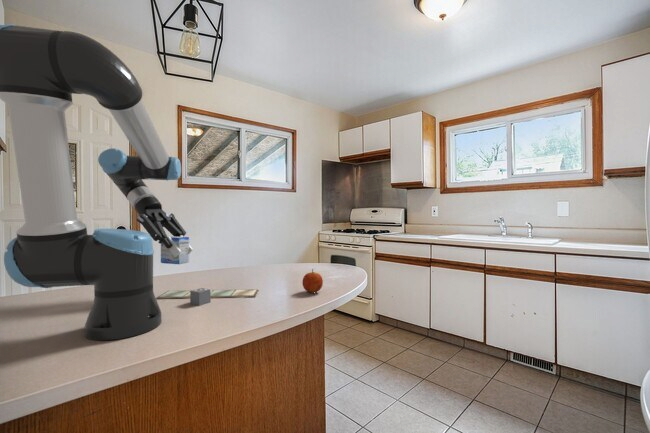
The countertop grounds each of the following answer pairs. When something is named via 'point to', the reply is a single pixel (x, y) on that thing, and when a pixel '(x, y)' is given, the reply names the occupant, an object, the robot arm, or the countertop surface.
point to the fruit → (312, 282)
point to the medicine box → (182, 257)
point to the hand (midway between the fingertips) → (184, 253)
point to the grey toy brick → (200, 296)
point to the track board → (213, 294)
